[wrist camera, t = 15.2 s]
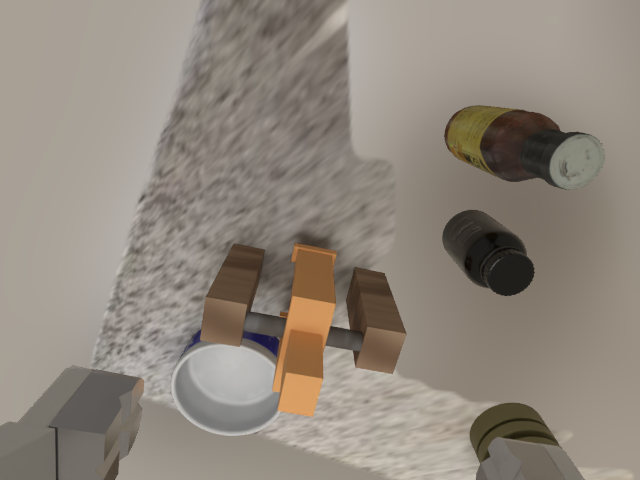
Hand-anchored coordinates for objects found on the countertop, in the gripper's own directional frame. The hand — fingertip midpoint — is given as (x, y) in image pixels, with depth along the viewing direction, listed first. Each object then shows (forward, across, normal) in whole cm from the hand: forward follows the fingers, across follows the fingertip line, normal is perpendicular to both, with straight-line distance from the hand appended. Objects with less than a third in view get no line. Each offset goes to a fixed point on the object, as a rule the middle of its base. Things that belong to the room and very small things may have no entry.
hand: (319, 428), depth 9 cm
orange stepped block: (+37, -2, +16) cm, 40 cm away
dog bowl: (+42, +5, +32) cm, 53 cm away
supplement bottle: (+41, -21, +6) cm, 47 cm away
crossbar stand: (+41, -2, +16) cm, 44 cm away
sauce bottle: (+41, -17, -6) cm, 45 cm away
